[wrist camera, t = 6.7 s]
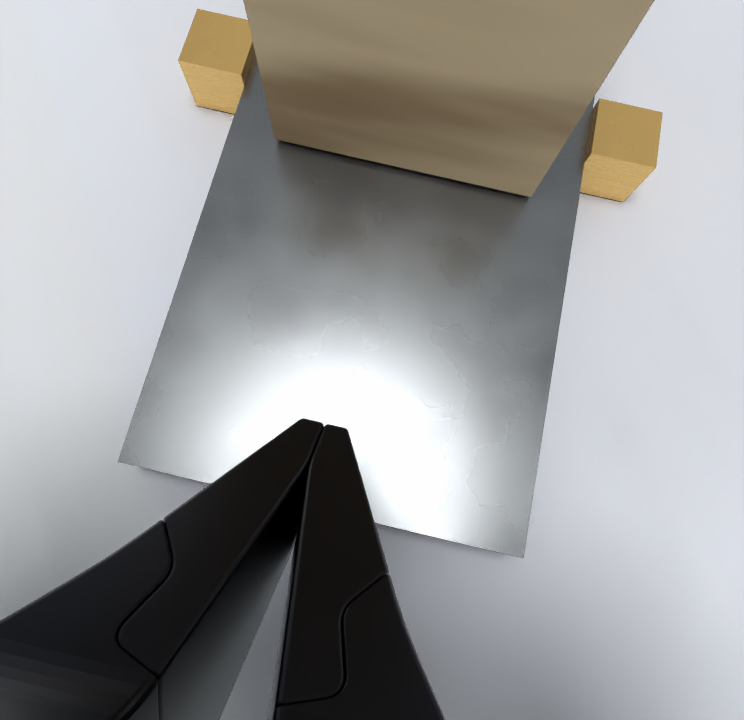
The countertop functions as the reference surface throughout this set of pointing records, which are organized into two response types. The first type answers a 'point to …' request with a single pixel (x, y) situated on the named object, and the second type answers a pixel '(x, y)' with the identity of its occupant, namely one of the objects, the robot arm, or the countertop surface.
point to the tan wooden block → (439, 79)
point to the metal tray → (372, 309)
